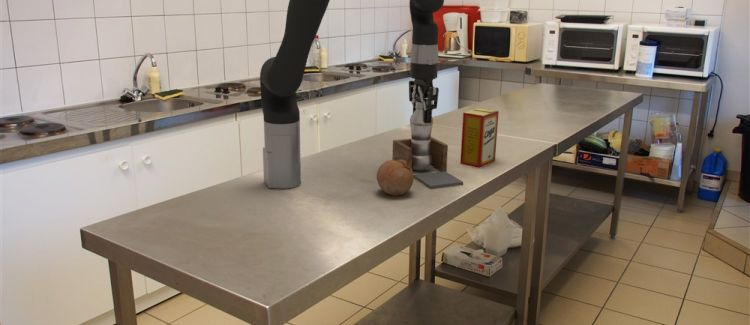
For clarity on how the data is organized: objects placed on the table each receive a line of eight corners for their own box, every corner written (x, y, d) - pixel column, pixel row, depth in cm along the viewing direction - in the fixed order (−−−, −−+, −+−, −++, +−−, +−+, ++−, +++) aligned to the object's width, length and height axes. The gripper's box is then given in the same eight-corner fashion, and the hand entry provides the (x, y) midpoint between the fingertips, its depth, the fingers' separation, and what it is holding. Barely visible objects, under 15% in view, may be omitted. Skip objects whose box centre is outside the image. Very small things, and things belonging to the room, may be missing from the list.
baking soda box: (479, 168, 181) (483, 114, 177) (460, 163, 185) (463, 111, 181) (494, 161, 189) (498, 109, 184) (476, 157, 192) (479, 106, 188)
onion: (408, 203, 161) (426, 170, 158) (391, 204, 153) (410, 169, 150) (380, 183, 165) (398, 151, 163) (363, 183, 157) (381, 149, 154)
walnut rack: (407, 176, 172) (408, 148, 170) (392, 166, 181) (392, 140, 179) (446, 172, 177) (447, 145, 175) (429, 162, 186) (431, 136, 184)
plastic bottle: (430, 173, 175) (433, 104, 169) (406, 172, 176) (408, 102, 171) (432, 167, 181) (435, 100, 175) (409, 165, 182) (412, 98, 177)
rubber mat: (430, 188, 163) (430, 185, 162) (413, 177, 171) (413, 175, 171) (463, 184, 166) (463, 181, 166) (445, 174, 175) (445, 171, 175)
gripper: (400, 58, 175) (399, 116, 179) (423, 64, 162) (421, 127, 167) (424, 57, 177) (422, 114, 182) (449, 63, 165) (446, 125, 170)
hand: (421, 120), depth 174 cm, fingers closed on plastic bottle, 6 cm apart
